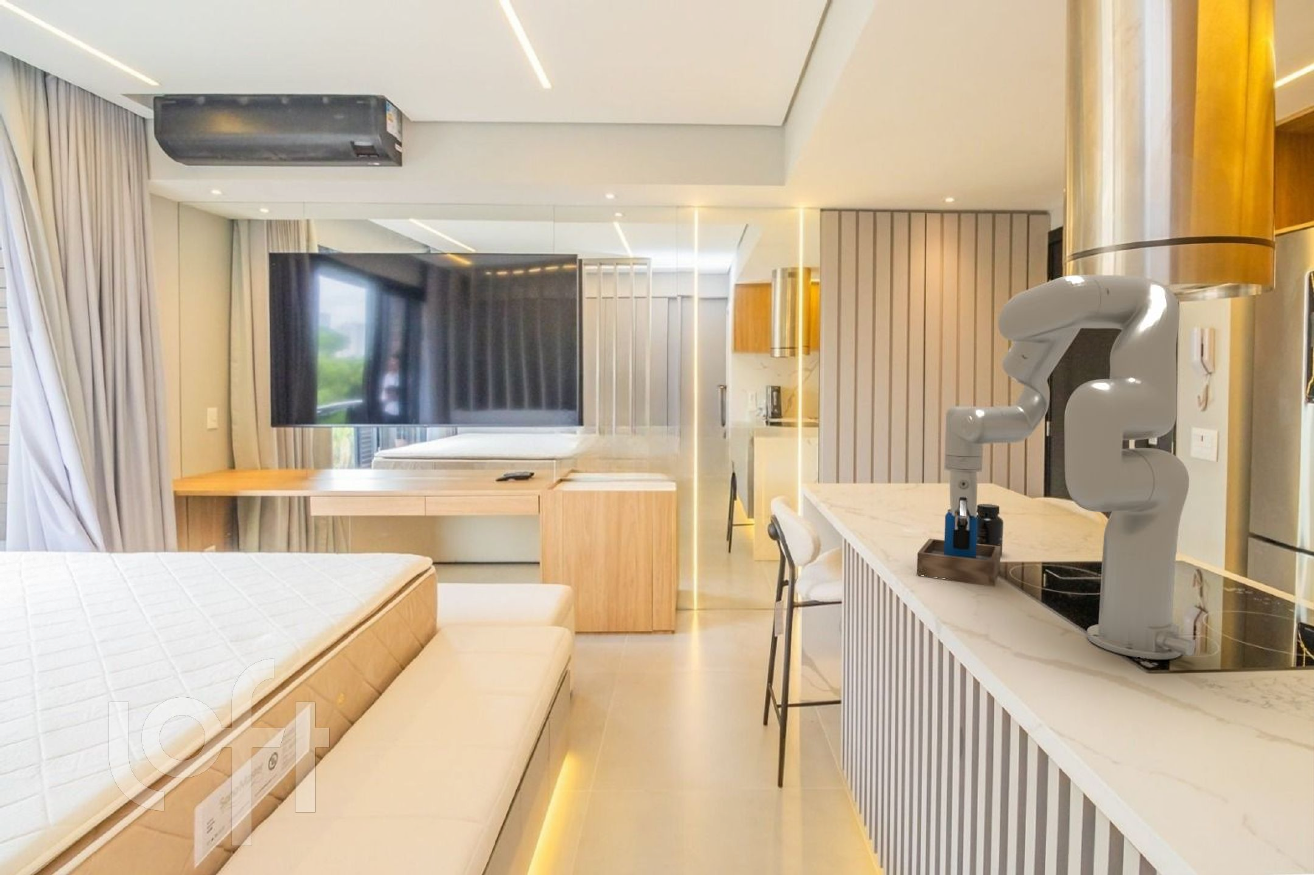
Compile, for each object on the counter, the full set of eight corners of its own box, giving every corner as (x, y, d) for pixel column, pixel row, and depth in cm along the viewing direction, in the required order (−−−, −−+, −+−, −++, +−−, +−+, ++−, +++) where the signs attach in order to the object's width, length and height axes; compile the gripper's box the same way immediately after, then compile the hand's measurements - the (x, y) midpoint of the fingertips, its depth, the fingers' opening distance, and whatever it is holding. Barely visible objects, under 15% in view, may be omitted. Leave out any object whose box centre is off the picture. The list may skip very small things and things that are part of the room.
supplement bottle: (1007, 558, 163) (1009, 508, 162) (978, 558, 163) (980, 508, 162) (993, 551, 170) (995, 502, 169) (965, 551, 170) (967, 502, 169)
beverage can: (981, 569, 148) (983, 514, 147) (950, 569, 149) (952, 514, 148) (968, 561, 155) (970, 508, 154) (939, 561, 155) (940, 508, 154)
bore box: (999, 568, 155) (1000, 546, 154) (993, 586, 142) (994, 562, 141) (928, 559, 162) (929, 538, 162) (916, 575, 149) (917, 552, 149)
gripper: (985, 469, 140) (982, 556, 142) (979, 459, 156) (976, 537, 158) (945, 467, 143) (942, 552, 145) (943, 458, 159) (941, 534, 161)
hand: (960, 544), depth 151 cm, fingers closed on beverage can, 6 cm apart
